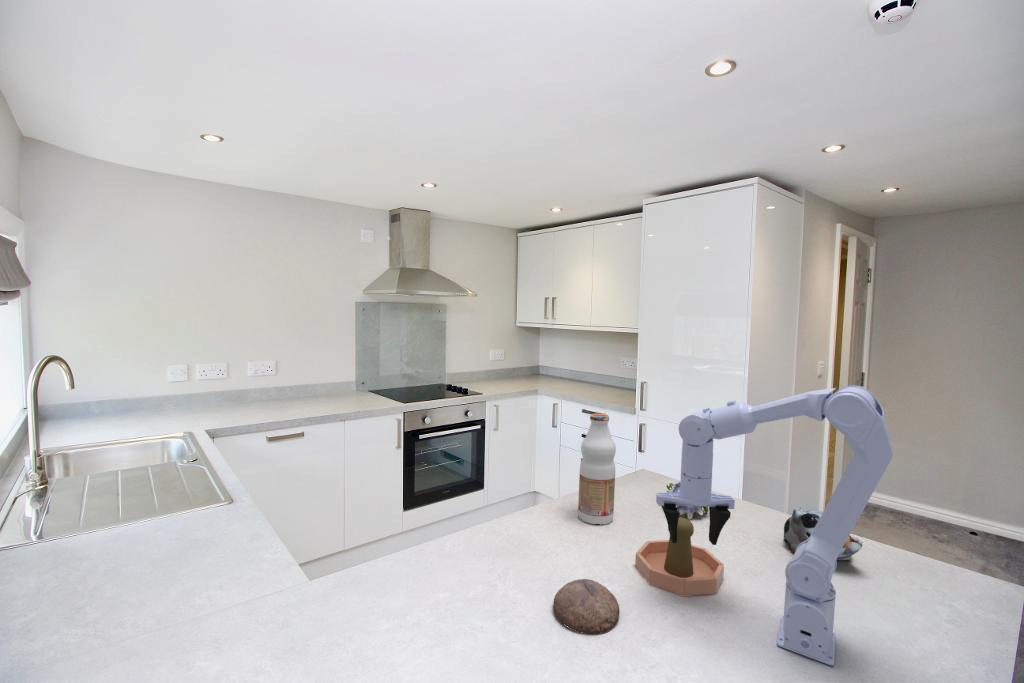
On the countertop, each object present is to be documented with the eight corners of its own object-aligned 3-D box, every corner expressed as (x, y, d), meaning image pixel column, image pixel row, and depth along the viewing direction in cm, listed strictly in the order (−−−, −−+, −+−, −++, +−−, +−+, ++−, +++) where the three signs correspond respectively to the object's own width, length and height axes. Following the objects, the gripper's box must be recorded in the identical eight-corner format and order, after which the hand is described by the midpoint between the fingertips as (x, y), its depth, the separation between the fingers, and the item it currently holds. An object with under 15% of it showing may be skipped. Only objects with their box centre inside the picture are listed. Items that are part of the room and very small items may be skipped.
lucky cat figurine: (859, 555, 112) (878, 516, 105) (839, 590, 106) (858, 551, 99) (792, 517, 122) (805, 479, 115) (770, 547, 116) (783, 509, 109)
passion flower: (688, 538, 131) (669, 506, 127) (670, 514, 141) (652, 485, 138) (723, 516, 130) (705, 484, 127) (703, 494, 141) (685, 464, 137)
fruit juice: (585, 526, 123) (589, 419, 122) (572, 511, 132) (576, 411, 131) (619, 524, 125) (623, 418, 124) (604, 509, 135) (608, 411, 133)
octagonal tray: (710, 605, 91) (710, 590, 91) (626, 575, 101) (627, 561, 100) (728, 568, 105) (728, 555, 104) (653, 545, 114) (653, 533, 114)
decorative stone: (581, 645, 79) (583, 613, 79) (540, 606, 90) (541, 578, 89) (632, 622, 86) (634, 593, 85) (588, 588, 96) (589, 562, 95)
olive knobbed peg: (696, 579, 99) (698, 527, 98) (665, 575, 100) (668, 524, 99) (691, 564, 105) (693, 515, 104) (662, 561, 106) (664, 512, 105)
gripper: (725, 469, 97) (722, 534, 98) (653, 466, 98) (650, 530, 99) (740, 481, 90) (736, 551, 91) (663, 477, 91) (659, 547, 92)
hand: (692, 541), depth 95 cm, fingers open, 7 cm apart
